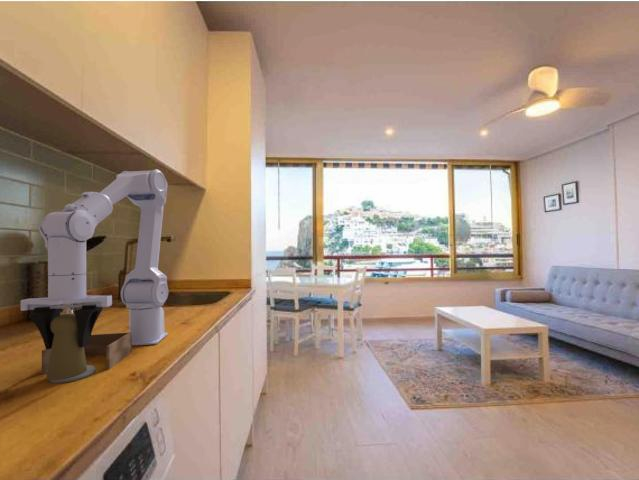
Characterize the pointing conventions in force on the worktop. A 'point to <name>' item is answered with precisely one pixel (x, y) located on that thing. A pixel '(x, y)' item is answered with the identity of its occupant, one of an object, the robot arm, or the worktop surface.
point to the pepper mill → (65, 349)
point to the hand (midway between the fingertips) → (67, 346)
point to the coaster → (89, 372)
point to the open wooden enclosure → (101, 348)
